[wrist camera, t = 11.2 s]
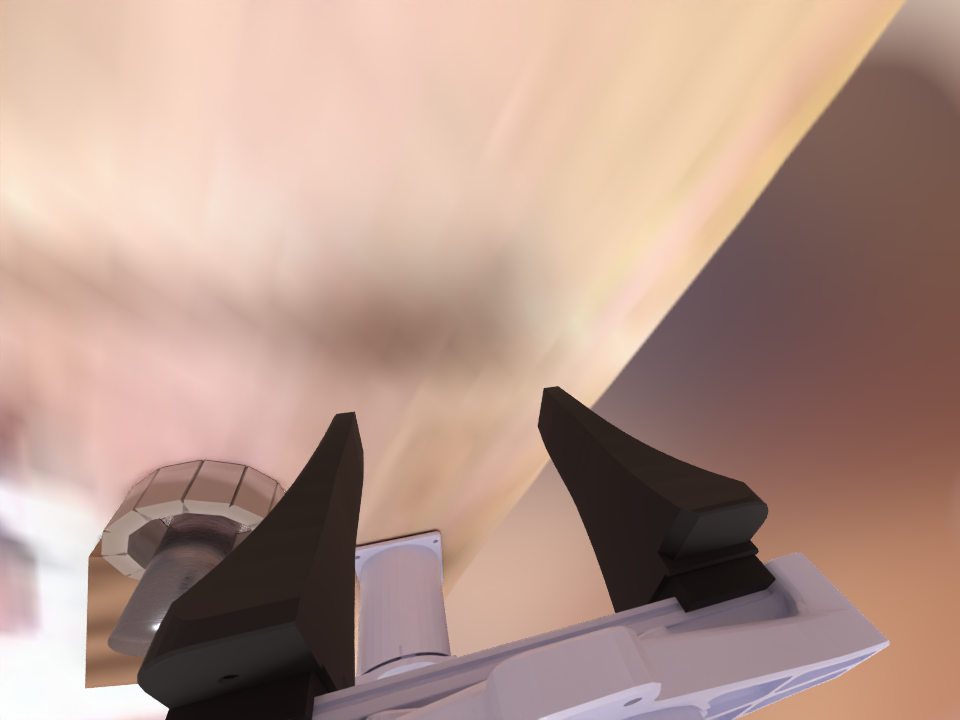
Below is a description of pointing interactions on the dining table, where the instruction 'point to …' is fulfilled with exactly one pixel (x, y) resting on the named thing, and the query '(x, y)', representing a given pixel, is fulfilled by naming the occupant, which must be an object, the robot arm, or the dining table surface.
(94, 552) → the brown piece
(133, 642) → the hinge pin
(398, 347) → the dining table surface
